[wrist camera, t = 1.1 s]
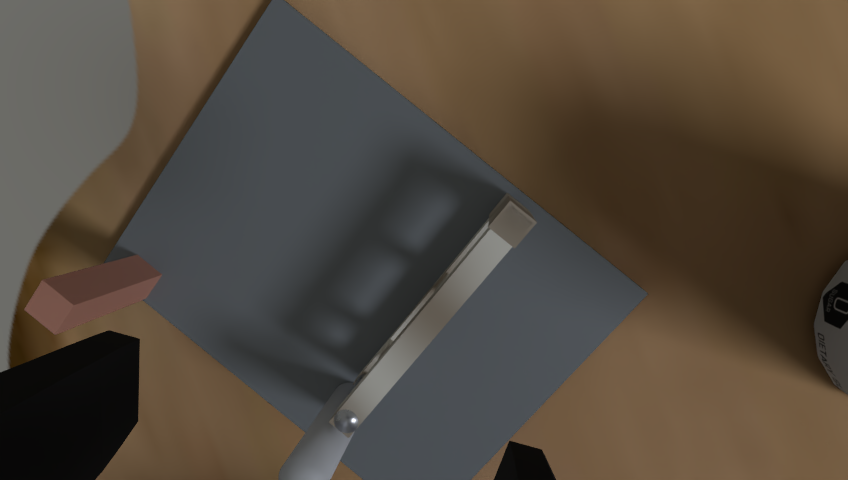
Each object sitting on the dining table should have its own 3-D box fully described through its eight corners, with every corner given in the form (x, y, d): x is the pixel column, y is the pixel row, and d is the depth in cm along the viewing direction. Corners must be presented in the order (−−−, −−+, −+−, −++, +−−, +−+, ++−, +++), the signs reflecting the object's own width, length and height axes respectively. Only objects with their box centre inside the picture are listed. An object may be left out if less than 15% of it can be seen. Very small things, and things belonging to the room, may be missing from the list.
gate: (376, 389, 24) (350, 439, 20) (356, 373, 24) (326, 420, 20) (528, 209, 22) (537, 222, 17) (507, 192, 22) (510, 200, 17)
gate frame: (644, 290, 23) (709, 347, 16) (425, 520, 26) (400, 650, 19) (281, -2, 23) (190, -72, 16) (110, 264, 26) (-26, 301, 19)
